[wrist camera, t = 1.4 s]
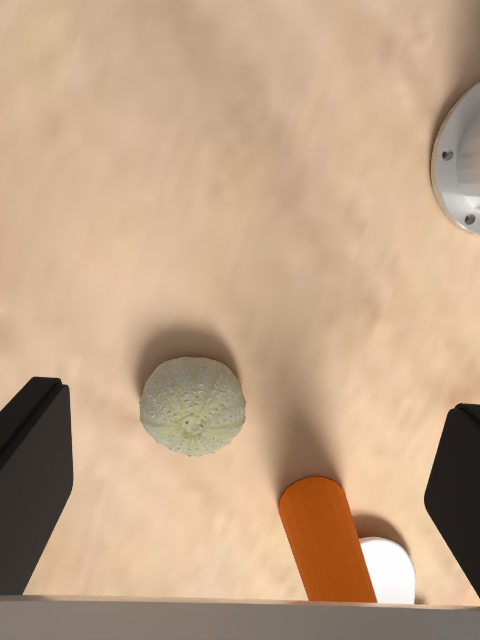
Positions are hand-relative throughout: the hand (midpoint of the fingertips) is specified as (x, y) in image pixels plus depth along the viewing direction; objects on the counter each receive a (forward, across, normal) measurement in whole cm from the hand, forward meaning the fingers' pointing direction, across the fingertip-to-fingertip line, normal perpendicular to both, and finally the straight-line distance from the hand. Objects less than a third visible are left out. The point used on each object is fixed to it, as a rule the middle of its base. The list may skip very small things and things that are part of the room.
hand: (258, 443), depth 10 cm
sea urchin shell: (+26, +3, +13) cm, 29 cm away
